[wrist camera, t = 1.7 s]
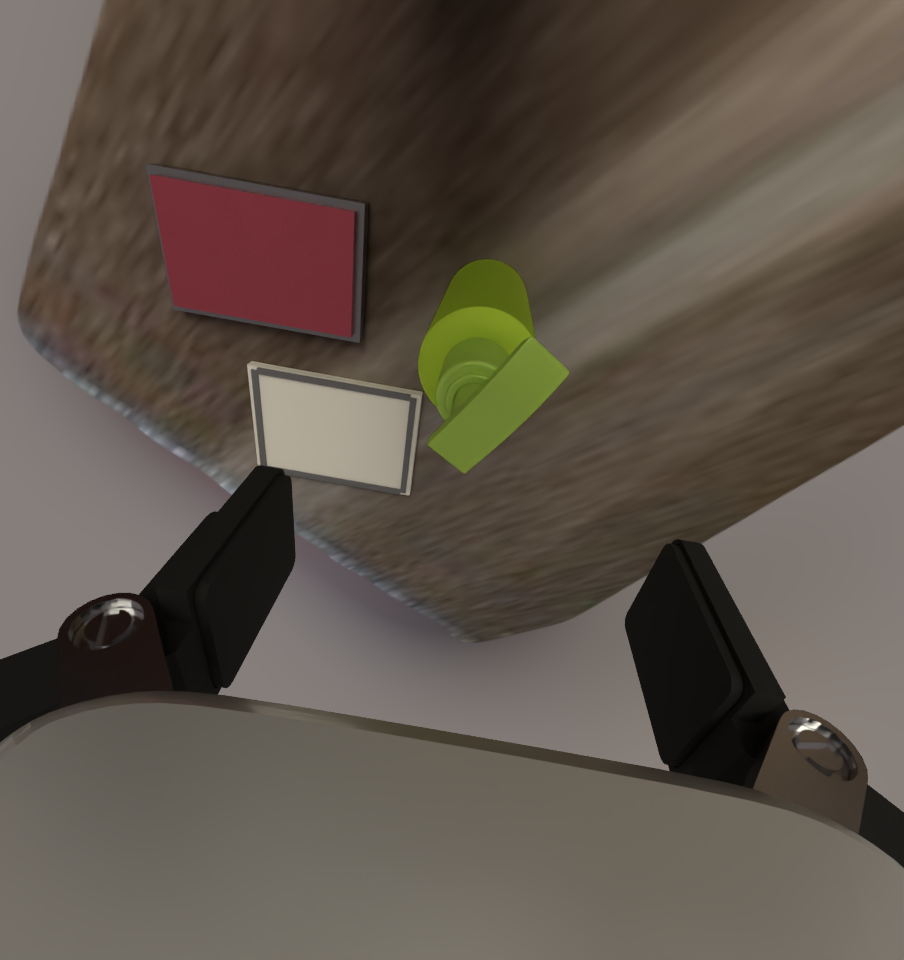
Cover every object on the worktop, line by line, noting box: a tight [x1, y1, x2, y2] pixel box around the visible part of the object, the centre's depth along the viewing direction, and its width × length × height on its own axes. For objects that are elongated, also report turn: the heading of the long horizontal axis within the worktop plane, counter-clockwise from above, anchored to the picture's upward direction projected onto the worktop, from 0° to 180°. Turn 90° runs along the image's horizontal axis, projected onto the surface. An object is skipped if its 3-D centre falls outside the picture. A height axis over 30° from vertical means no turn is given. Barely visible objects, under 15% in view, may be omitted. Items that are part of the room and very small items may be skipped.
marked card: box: [247, 361, 423, 495], centre depth 40 cm, size 10×14×1 cm
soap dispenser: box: [418, 259, 569, 474], centre depth 25 cm, size 6×7×20 cm
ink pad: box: [146, 164, 369, 343], centre depth 32 cm, size 9×14×2 cm, turn 82°
